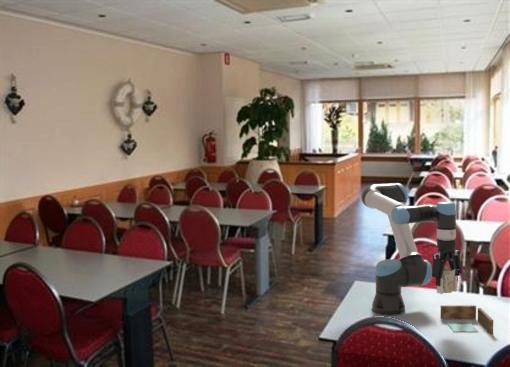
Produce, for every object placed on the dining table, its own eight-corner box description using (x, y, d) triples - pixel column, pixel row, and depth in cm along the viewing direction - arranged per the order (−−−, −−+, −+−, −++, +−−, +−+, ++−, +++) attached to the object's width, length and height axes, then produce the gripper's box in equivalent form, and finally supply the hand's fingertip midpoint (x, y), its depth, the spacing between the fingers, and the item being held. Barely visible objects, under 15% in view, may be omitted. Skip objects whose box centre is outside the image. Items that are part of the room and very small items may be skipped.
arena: (452, 334, 202) (452, 320, 202) (440, 318, 219) (440, 305, 219) (493, 334, 201) (493, 320, 200) (477, 318, 218) (478, 305, 217)
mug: (453, 288, 212) (453, 266, 211) (458, 297, 200) (458, 273, 199) (433, 287, 214) (433, 265, 213) (436, 296, 202) (436, 273, 201)
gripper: (435, 242, 198) (435, 298, 200) (470, 237, 207) (471, 290, 208) (421, 240, 205) (422, 293, 207) (456, 234, 213) (457, 285, 215)
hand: (446, 291), depth 207 cm, fingers closed on mug, 7 cm apart
